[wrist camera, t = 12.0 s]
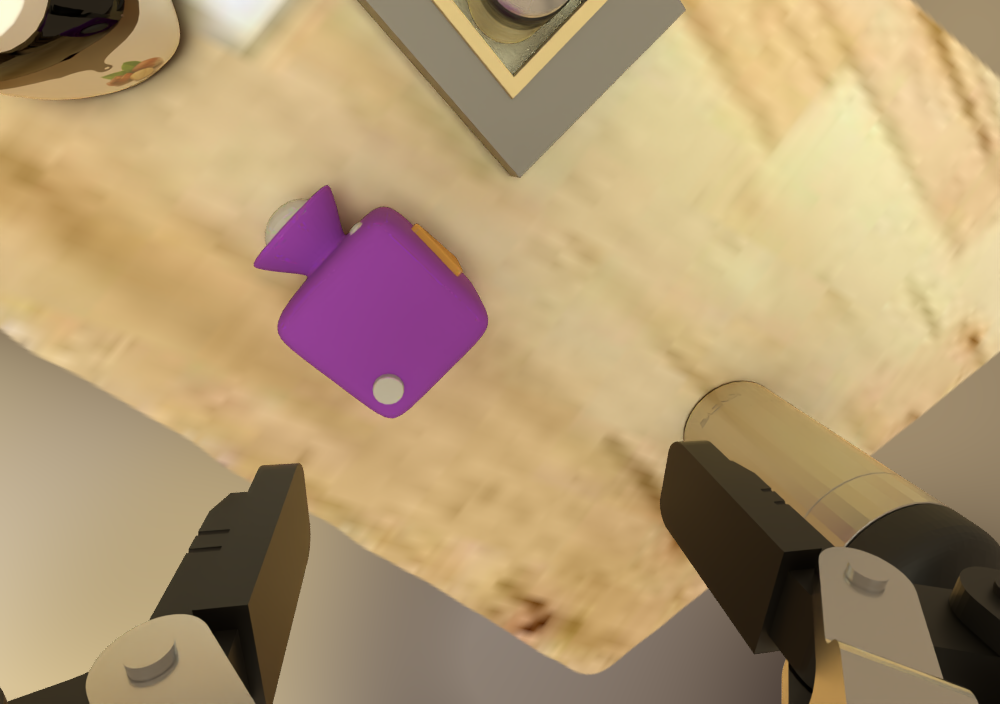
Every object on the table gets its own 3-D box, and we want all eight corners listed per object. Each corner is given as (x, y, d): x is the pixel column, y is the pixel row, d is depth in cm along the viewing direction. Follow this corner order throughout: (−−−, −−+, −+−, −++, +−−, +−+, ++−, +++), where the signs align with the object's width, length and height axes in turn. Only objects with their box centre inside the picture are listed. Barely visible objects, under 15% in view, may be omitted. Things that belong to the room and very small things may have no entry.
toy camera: (320, 151, 33) (287, 151, 24) (491, 265, 38) (519, 300, 29) (243, 289, 36) (187, 336, 26) (414, 380, 40) (417, 447, 31)
